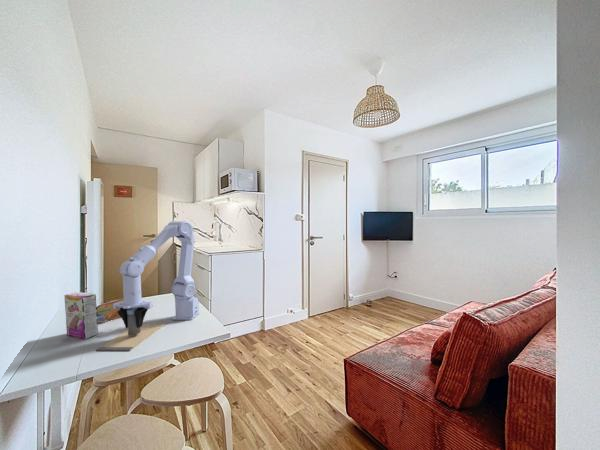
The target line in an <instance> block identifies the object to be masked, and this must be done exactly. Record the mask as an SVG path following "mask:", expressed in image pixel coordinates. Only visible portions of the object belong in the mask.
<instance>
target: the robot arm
mask: <svg viewBox="0 0 600 450" xmlns="http://www.w3.org/2000/svg"><path fill="white" fill-rule="evenodd" d="M170 238H177V240H179V242H181V245H180V253H179V263H178V272H177V276H176V277H175V279H174V281H173V285H171V288H170V289H171V290H170V291H171V294H172V295H173V296H174V302H175V303H174V304H175V306H174V307H175V309H174V310H175V316H173V317H172V318H171V320H172V321H178V320H179V321H181V320H184V321H188V320H189V321H190V320H194V319H195V318H196V317H197V316H198V315H199V314H200V308H199V306H200V305H199V304H200V303H199V302H200V301H199V299H198V297H196V296H194V295H195V293H196V286H195V280H194V279H193V277H192V269H193V261H194V260H193V259H194V248H195V242H196V241H195V235H194V226H193V225H192V224H191V222H189V221H187V220H183V221H181V220H180V221H176V220H173V221H172V220H171V221H170V222H169V223H167V225H165V226H164V227H163V229H162V230H161V231H160V233H158V235H157V236H156V237H155V238H154V239H153V240H152V241H151V242H150V243H149V244H148V245H142V246H140V247H139V248H138V250H137V252H135V254H134V255H132V256H130V257H128V260H127V261H124V262H123V263H122V264H121V265H120V268H119V269H118V271H119V272H118V273H119V274H121V275H122V291H123V292H122V293H123V294H122V295H123V298H124V302H117V303H115V304H113V309H117V308H120V310H119V311H118V314H119V315H120V316H121V318H120V319H122V322H123V324H124V325H125V328H127V329H128V322H127V309H129V308H138V309H137V310H135V311H134V314H135V317H136V325H137V328H139V327H141V326H142V324H144V320H145V316H146V314H147V312H148V310H151V309H152V308H154V303H153V301H145V300H142V280H141V278H142V277H141V275H142V273H144V270H145V267H146V265H147V264H149V262H151V261H152V259H153V258H154V257H155V256H156V255H157V250H158V249H159V248H161V246H163V245H164V244H165V243H166V242H168V240H169V239H170Z"/></svg>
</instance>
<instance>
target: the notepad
mask: <svg viewBox="0 0 600 450" xmlns="http://www.w3.org/2000/svg"><path fill="white" fill-rule="evenodd" d="M164 326H166V323H143V324H142V326H141V327H140V333H138V334H136V335H128V329H127V330H126V331H124V332H122V333H121V334H119V335H118V336H115V337H114V338H113V339H112V340H111V339H110V341H108V342H106V343H105V344H103V345H102V346H99V347H98V348H97V349H96V352H131V351H132V350H134V349H135V348H136V347H138V346H139V345H140V344H141V343H142V342H144V341H145V340H147V339H148V338H150V337H151V336H152V335H153V334H154V333H156V332H158V331H159V330H160V329H162V328H163V327H164Z"/></svg>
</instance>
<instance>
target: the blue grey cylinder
mask: <svg viewBox="0 0 600 450" xmlns="http://www.w3.org/2000/svg"><path fill="white" fill-rule="evenodd" d="M137 309H138V308H129V309H127V322H128V328H127V330H128V335H136V334H138V333H140V327H139V328H137V325H136V317H135V314H134V311H135V310H137Z"/></svg>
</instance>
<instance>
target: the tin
mask: <svg viewBox="0 0 600 450" xmlns="http://www.w3.org/2000/svg"><path fill="white" fill-rule="evenodd" d="M117 302H124V297H122V298H118V299H114V300H111V301H110V300H109V301H107V302H103V303H100V304H98V305H96V307H97V323H100V324H105V322H106V323H108V321H109V322H111V320H112V321H115V320H118V319H122V318H121V316H120V315H119V314H118V311H119V310H120V308H117V309H113V304H115V303H117Z"/></svg>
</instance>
